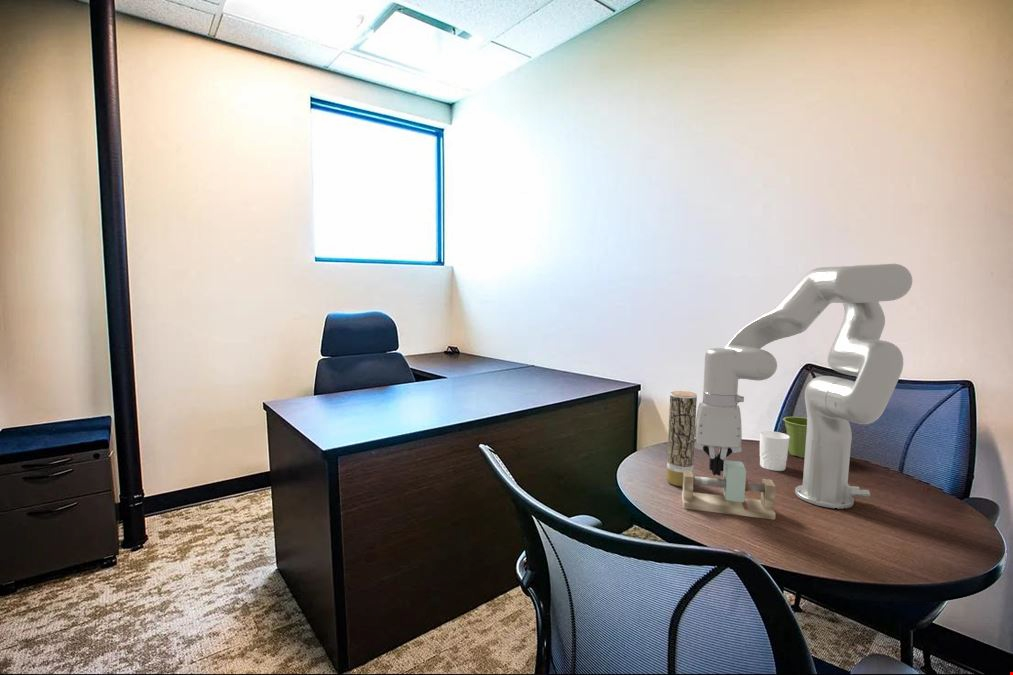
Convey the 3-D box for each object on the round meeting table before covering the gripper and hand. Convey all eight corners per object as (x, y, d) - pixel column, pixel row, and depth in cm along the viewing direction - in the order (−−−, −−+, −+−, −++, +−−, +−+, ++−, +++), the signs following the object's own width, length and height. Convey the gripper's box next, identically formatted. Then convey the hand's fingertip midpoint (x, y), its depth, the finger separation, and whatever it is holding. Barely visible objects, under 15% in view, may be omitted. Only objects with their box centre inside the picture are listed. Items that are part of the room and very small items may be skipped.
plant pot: (832, 460, 154) (835, 425, 152) (800, 462, 151) (803, 427, 150) (802, 448, 165) (805, 415, 164) (772, 450, 163) (774, 417, 161)
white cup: (788, 465, 148) (790, 433, 147) (786, 474, 141) (789, 440, 140) (759, 460, 152) (761, 429, 151) (756, 468, 146) (758, 435, 145)
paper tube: (688, 489, 130) (692, 397, 127) (662, 483, 134) (666, 393, 131) (695, 481, 135) (700, 393, 132) (671, 475, 139) (675, 389, 136)
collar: (739, 492, 121) (741, 461, 120) (744, 502, 115) (746, 469, 114) (722, 490, 122) (724, 459, 121) (725, 500, 116) (727, 467, 116)
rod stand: (767, 506, 120) (769, 477, 119) (775, 519, 113) (777, 488, 112) (681, 496, 125) (683, 468, 124) (683, 508, 118) (685, 478, 118)
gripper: (750, 398, 119) (746, 471, 121) (685, 394, 123) (682, 464, 125) (757, 405, 112) (752, 482, 113) (688, 401, 116) (684, 475, 118)
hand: (716, 473), depth 119 cm, fingers closed
